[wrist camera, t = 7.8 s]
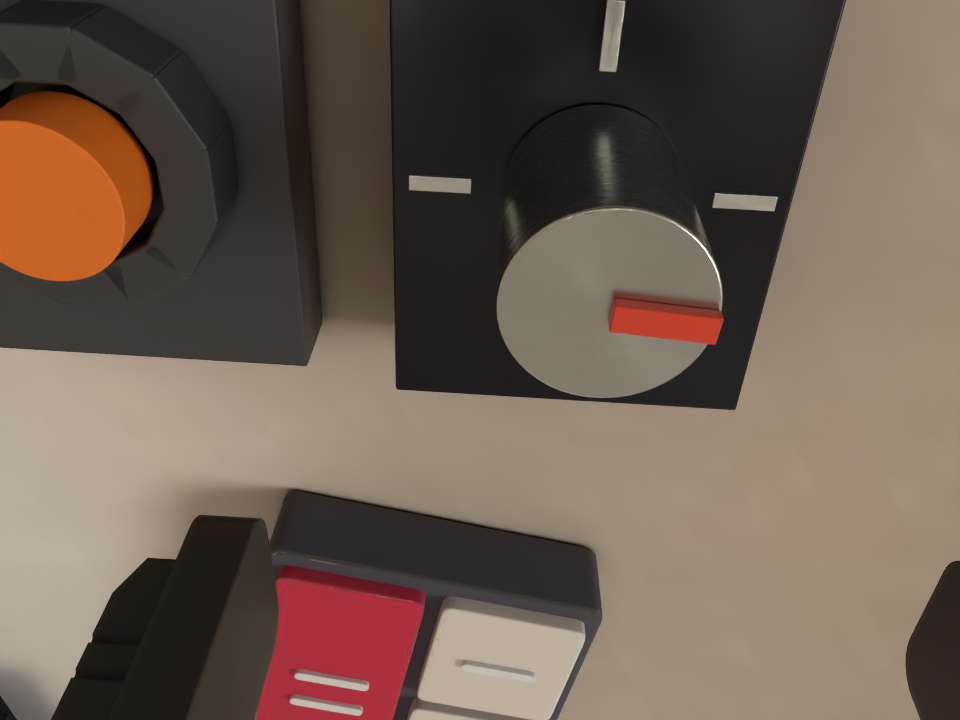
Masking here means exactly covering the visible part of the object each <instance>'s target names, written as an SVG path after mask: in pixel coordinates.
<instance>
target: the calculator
mask: <svg viewBox="0 0 960 720" xmlns="http://www.w3.org/2000/svg"><path fill="white" fill-rule="evenodd" d="M269 546H270V552H271V558H272V564H273V570H274V577H275V583H276V589H277V595H278V604H279V617H278V629H277V637H276V643H275V648H274V652H273V656H272V659H271V663H270V666H269V670H268V674H267V677H266V681H265V684H264V688H263V691H262V695H261V698H260V702H259V706H258V709H257V713H256V716H255V720H557V718H558V716H559V714H560V712H561V709H562V707H563V705H564V703H565V701H566V698H567V696H568V694H569V692H570V690H571V687H572V685H573V683H574V681H575V679H576V676H577V674H578V672H579V670H580V668H581V665H582V663H583V661H584V659H585V657H586V654H587V652H588V650H589V648H590V646H591V643H592V641H593V639H594V637H595V635H596V632H597V630H598V628H599V626H600V623H601V621H602V608H601V598H600V588H599V579H598V570H597V562H596V556H595V553H594V552H593V551H592V550H590V549H588V548H584V547H580V546H575V545H570V544H565V543H560V542H554V541H549V540H544V539H539V538H534V537H529V536H524V535H519V534H514V533H509V532H504V531H499V530H494V529H488V528H483V527H478V526H473V525H468V524H463V523H458V522H453V521H448V520H443V519H438V518H433V517H427V516H422V515H417V514H412V513H407V512H402V511H397V510H392V509H387V508H382V507H377V506H372V505H367V504H361V503H356V502H351V501H346V500H341V499H336V498H331V497H326V496H321V495H316V494H311V493H305V492H299V491H294V492H291V493H289V494H287V496H286V497H285V499H284V502H283V504H282V507H281V510H280V513H279V516H278V519H277V522H276V525H275V528H274V532H273V535H272V538H271V541H270V544H269Z"/></svg>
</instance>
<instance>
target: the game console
mask: <svg viewBox="0 0 960 720" xmlns="http://www.w3.org/2000/svg"><path fill="white" fill-rule="evenodd" d="M0 720H17V719H16V718H15V717H14V715H13V714H12V712H11V711H10V709H9V708H8V706H7V705H6V703H5V702H4V701H3V699H2V698H1V696H0Z"/></svg>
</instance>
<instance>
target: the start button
mask: <svg viewBox="0 0 960 720" xmlns="http://www.w3.org/2000/svg"><path fill="white" fill-rule="evenodd" d="M153 188H154V187H153V178H152V173H151V169H150V166H149V163H148V161H147V158H146V156H145V154H144V152H143V150H142V148H141V146H140V145H139V144H138V142H137V141H136V139H135V138H134V136H133V135H132V134H131V133H130V132H129V130H128V129H127V128H126V127H125V126H124V125H123V124H122V123H121V122H120V121H119V120H118V119H116V118H115V117H114V116H112V115H111V114H110V113H109V112H107V111H106V110H104V109H102V108H101V107H99V106H98V105H96V104H94V103H92V102H90V101H88V100H85V99H83V98H80V97H77V96H74V95H70V94H66V93H60V92H52V91H42V92H34V93H29V94H25V95H22V96H19V97H17V98H15V99H13V100H11V101H10V102H9V103H7V104H6V105H4V106H3V107H2V108H0V262H1V263H3V264H5V265H7V266H8V267H10V268H12V269H14V270H16V271H19V272H21V273H23V274H26V275H29V276H32V277H35V278H40V279H44V280H51V281H74V280H80V279H84V278H87V277H90V276H93V275H95V274H97V273H99V272H100V271H102V270H104V269H105V268H106V267H107V266H109V265H110V264H111V263H112V262H113V260H114V259H115V258H116V257H117V255H118V254H119V253H120V252H121V250H122V249H123V248H124V247H125V245H126V244H127V243H128V242H129V240H130V239H131V238H132V236H133V235H134V234H135V233H136V231H137V230H138V229H139V228H140V226H141V225H142V224H143V223H144V221H145V219H146V218H147V216H148V214H149V212H150V209H151V206H152V201H153Z"/></svg>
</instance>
